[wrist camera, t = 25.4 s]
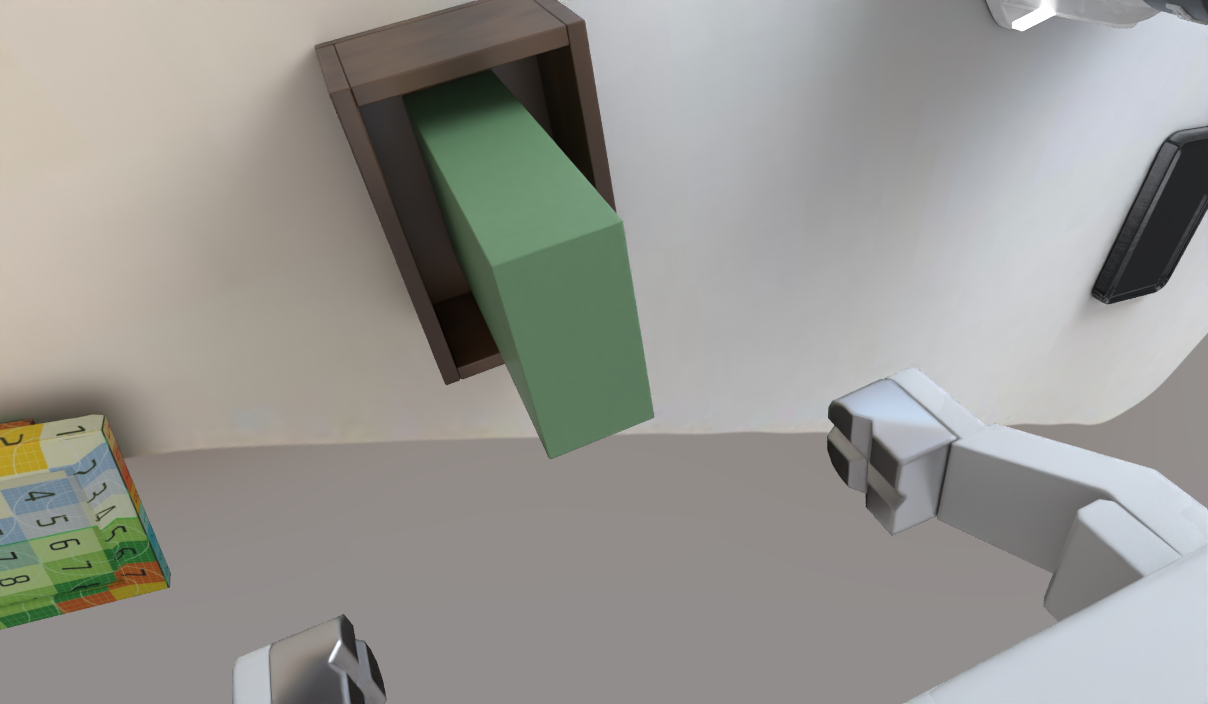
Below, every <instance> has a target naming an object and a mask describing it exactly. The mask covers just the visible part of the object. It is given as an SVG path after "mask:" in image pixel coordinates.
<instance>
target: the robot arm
mask: <svg viewBox="0 0 1208 704" xmlns="http://www.w3.org/2000/svg"><path fill="white" fill-rule="evenodd" d="M986 1H987V4H988V6H989V9H990V11H991V13H992V15H993V17H994V19H995V21H996V22H997V23H998V24H999V25H1000V26H1001V27H1005V28H1011V29H1018V30H1021V31H1024V30H1026V29H1028V28H1030V27H1031V26H1033V25H1035V24H1037V23H1039V22H1041V21H1043V20H1045V19H1047V18H1049V17H1051V16H1053V15H1054V16H1059V17H1064V18H1069V19H1073V20H1078V21H1083V22H1088V23H1093V24H1098V25H1103V26H1108V27H1113V28H1132V27H1134V26H1136V24H1137V23H1138V22H1140V21H1143V20H1146V19H1148V18H1151V17H1153V16H1155V15H1156V14H1158V13H1159V12H1161V11H1163V12H1167V13H1170V14H1174V15H1177V17H1179V18H1181V19H1184V20H1187V21H1191V22H1195V23H1200V24H1204V25H1207V24H1208V0H986ZM828 418H829V419H830V421H831V422H832V423H833V424H834V427H833V428H832V430H831V431H830V433H829V434H828V436H827V450H828V453H829V456H830V459H831V462H832V464H833V466H834V468H835V470H836V471H837V473H838V474H839V476H840V477H841V478H842V480H843V481H844V482H845V483H846V484H847V486H848V487H849V488H852V489H855V490H858V491H861V492H863V493H866V507H867V509H868V510H869V511H870V512H871V513H872V514H873V515H874V517H875V518H876V519H877V520H878V521H879V522H880V523H881V524H882V526H883V527H884V528H885V529H886V530H887V531H888V532H889V534H890V535H891V536H893V535H896V534H898V533H900V532H903V531H905V530H907V529H909V528H912V527H914V526H916V525H918V524H920V523H923V522H925V521H927V520H930V519H932V518H934V517H936V516H937V519H938V520H940V521H942V522H944V523H947V524H948V525H950V526H953V527H955V528H957V529H959V530H961V531H963V532H966V533H968V534H970V535H972V536H974V537H976V538H978V539H980V540H983V541H985V542H987V543H989V544H991V545H993V546H995V547H997V548H1000V549H1002V550H1004V551H1006V552H1008V553H1011V554H1012V555H1015V556H1017V557H1019V558H1021V559H1023V560H1025V561H1027V562H1029V563H1032V564H1034V565H1036V566H1038V567H1040V568H1042V569H1045V570H1047V571H1049V572H1051V573H1053V576H1052V578H1051V581H1050V583H1049V586H1048V589H1047V591H1046V594H1045V596H1044V607H1045V608H1046V610H1047V611H1048V612H1049V613H1050V614H1051V615H1052V616H1053V617H1054V618H1055V619H1056V620H1057V621H1058V623H1056V624H1054V625H1052V626H1050V627H1048V628H1046V629H1044V630H1042V631H1040V632H1039V633H1037V634H1035V635H1033V636H1031V637H1029V638H1027V639H1025V640H1023V641H1022V642H1020V643H1018V644H1016V645H1014V646H1012V647H1010V648H1008V649H1006V650H1005V651H1003V652H1001V653H999V654H997V655H995V656H993V657H991V658H989V659H987V660H985V661H983V662H982V663H980V664H978V665H976V666H974V667H972V668H970V669H968V670H966V671H964V672H963V673H961V674H959V675H957V676H955V677H953V678H951V679H950V680H948V681H945V682H944V683H942V684H940V685H938V686H936V687H934V688H932V689H930V690H928V691H927V692H925V693H923V694H921V695H919V696H917V697H915V698H913V699H911V700H910V701H907V702H906V703H904V704H1208V509H1206V508H1205V507H1204V506H1202V505H1201V504H1200V503H1199V502H1197V501H1196V500H1194V499H1193V498H1192V497H1190V496H1189V495H1188V494H1186V493H1185V492H1184V491H1182V490H1181V489H1180V488H1179V487H1177V486H1176V485H1175V484H1173V483H1172V482H1171V481H1169V480H1168V479H1167V478H1165V477H1164V476H1163V475H1161V474H1160V473H1159V472H1157V471H1156V470H1154V469H1151V468H1147V467H1144V466H1141V465H1137V464H1134V463H1130V462H1127V461H1123V460H1120V459H1116V458H1113V457H1109V456H1106V455H1102V454H1099V453H1095V452H1092V451H1089V450H1085V449H1082V448H1078V447H1075V446H1071V445H1068V444H1064V443H1061V442H1057V441H1054V440H1050V439H1047V438H1043V437H1040V436H1037V435H1033V434H1029V433H1026V432H1023V431H1019V430H1016V429H1012V428H1008V427H1005V426H1002V425H998V424H992V425H990V426H986V425H985V424H983V423H982V422H981V421H980V420H979V419H978V418H976V417H975V416H974V415H973V414H972V413H970V412H969V411H968V410H967V409H966V408H965V407H963V406H962V405H961V404H960V403H959V402H957V401H956V400H955V399H954V398H953V397H952V396H950V395H949V394H948V393H947V392H946V391H945V390H943V389H942V388H941V387H940V386H939V385H937V384H936V383H935V382H934V381H933V380H932V379H930V378H929V377H928V376H927V375H926V374H924V373H923V372H922V371H921V370H920V369H917V368H914V367H910V368H907V369H904V370H902V371H900V372H898V373H895V374H893V375H891V376H889V377H886V378H885V379H880V380H878V381H875V382H873V383H871V384H869V385H867V386H864V387H862V388H860V389H858V390H856V391H853V392H851V393H849V394H847V395H844V396H842V397H840V398H838V399H836V400H833V401H832V402H831V404H830V406H829V410H828ZM386 700H387V699H386V694H385V688H384V683H383V680H382V676H381V673H380V670H379V667H378V664H377V661H376V659H375V657H374V655H373V653H372V651H371V649H370V648H369V647H368V645H367V644H366V642H365V641H362V640H357V639H355V634H354V628H353V625H352V624H351V622H350V621H349V620H348V619H347V618H346V616H345V615H344V614H343V615H340V616H338V617H336V618H333V619H331V620H328V621H326V622H323V623H321V624H318V625H316V626H313V627H311V628H308V629H306V630H304V631H301V632H299V633H296V634H294V635H291V636H289V637H286V638H284V639H281V640H279V641H277V642H274V643H271V644H269V645H267V646H264V647H262V648H260V649H257V650H255V651H253V652H250V653H248V654H246V655H244V656H241V657H238V658H236V661H235V664H234V668H233V671H232V704H385V702H386Z"/></svg>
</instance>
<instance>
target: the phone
mask: <svg viewBox="0 0 1208 704" xmlns="http://www.w3.org/2000/svg"><path fill="white" fill-rule="evenodd" d="M1207 209H1208V126H1207V127H1201V128H1195V129H1189V130H1183V131H1179V132H1176V133H1174V134H1173V135H1172V136H1170V137H1169V138H1168V139H1167V141H1166V142H1165V143H1164V145H1163V147H1162V148H1161V150H1160V152H1159V155H1158V157H1157V159H1156V161H1155V163H1154V165H1153V167H1152V169H1151V171H1150V173H1149V175H1148V177H1147V179H1146V182H1145V184H1144V186H1143V188H1142V190H1141V192H1140V194H1139V196H1138V198H1137V200H1136V202H1135V204H1134V206H1133V209H1132V211H1131V213H1130V215H1129V217H1128V219H1127V221H1126V223H1125V225H1124V227H1123V229H1122V231H1121V233H1120V236H1119V238H1118V240H1117V242H1116V244H1115V246H1114V248H1113V250H1112V252H1111V254H1110V256H1109V258H1108V260H1107V263H1106V265H1105V267H1104V269H1103V271H1102V273H1101V275H1100V277H1099V279H1098V281H1097V283H1096V285H1095V287H1094V290H1093V297H1094V298H1096V299H1098V300H1099V301H1101V302H1102V303H1104V304H1112V303H1116V302H1120V301H1124V300H1128V299H1132V298H1135V297H1139V296H1143V295H1147V294H1151V293H1155V292H1157V291H1159V290H1160V289H1161V288H1163V287H1164V286H1165V285H1166V283H1167V282H1168V280H1169V279H1170V277H1171V275H1172V273H1173V272H1174V270H1175V268H1176V266H1177V264H1178V262H1179V261H1180V259H1181V257H1182V255H1183V253H1184V251H1185V250H1186V248H1187V246H1188V244H1189V242H1190V240H1191V239H1192V237H1193V235H1194V233H1195V231H1196V229H1197V228H1198V226H1199V224H1200V222H1201V220H1202V218H1203V217H1204V215H1205V213H1206V211H1207Z"/></svg>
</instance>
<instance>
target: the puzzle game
mask: <svg viewBox="0 0 1208 704" xmlns="http://www.w3.org/2000/svg"><path fill="white" fill-rule="evenodd" d="M170 576H171V573H170V571H169V568H168V565H167V563H166V560H165V558H164V556H163V553H162V551H161V549H160V546H159V544H158V541H157V539H156V536H155V534H154V532H153V529H152V527H151V524H150V522H149V520H148V517H147V515H146V512H145V510H144V508H143V505H142V503H141V500H140V498H139V495H138V493H137V491H136V488H135V486H134V484H133V481H132V479H131V476H130V474H129V471H128V469H127V466H126V464H125V462H124V459H123V457H122V454H121V452H120V450H119V447H118V445H117V442H116V440H115V438H114V435H113V433H112V430H111V428H110V426H109V423H108V421H107V418H106V416H105V415H93V414H89V415H84V416H79V417H74V418H69V419H64V420H59V421H54V422H47V423H41V424H35V423H34V420H33V419H26V420H19V421H13V422H7V423H1V424H0V630H1V629H5V628H9V627H13V626H17V625H21V624H25V623H29V622H33V621H37V620H41V619H45V618H49V617H53V616H57V615H61V614H65V613H69V612H73V611H77V610H82V609H85V608H90V607H94V606H98V605H102V604H106V603H110V602H114V601H118V600H122V599H126V598H130V597H134V596H138V595H142V594H146V593H150V592H154V591H158V590H162V589H166V588H169V587H170Z"/></svg>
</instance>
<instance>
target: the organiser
mask: <svg viewBox="0 0 1208 704" xmlns="http://www.w3.org/2000/svg"><path fill="white" fill-rule="evenodd" d="M315 50H316V53H317V56H318V60H319V63H320V66H321V69H322V73H323V76H324V79H325V82H326V85H327V89H328V92H329V95H330V98H331V100H332V103H333V105H334V108H335V110H336V113H337V115H338V118H339V120H340V123H341V125H342V128H343V130H344V133H345V135H346V138H347V140H348V143H349V145H350V148H351V150H352V153H353V155H354V158H355V160H356V163H357V165H358V168H359V170H360V173H361V175H362V178H363V180H364V183H365V185H366V188H367V190H368V193H369V195H370V198H371V200H372V203H373V205H374V208H375V210H376V213H377V215H378V218H379V220H380V223H381V225H382V228H383V230H384V233H385V235H386V238H387V240H388V243H389V245H390V248H391V250H392V253H393V255H394V258H395V260H396V263H397V265H398V268H399V270H400V273H401V275H402V278H403V280H404V283H405V285H406V288H407V290H408V293H409V295H410V298H411V300H412V303H413V305H414V308H415V310H416V313H417V315H418V318H419V320H420V323H421V325H422V328H423V330H424V333H425V335H426V338H427V340H428V343H429V345H430V348H431V350H432V353H433V355H434V358H435V360H436V363H437V365H438V368H439V370H440V373H441V375H442V378H443V380H444V383H445V384H446V385H449V384H451V383H454V382H457V381H459V380H460V378H461V379H465V378H468V377H470V376H473V375H476V374H478V373H481V372H484V371H486V370H489V369H492V368H494V367H497V366H500V365H502V364H505V362H504V360H503V358H502V356H501V354H500V352H499V349H498V347H497V345H496V343H495V341H494V339H493V336H492V334H491V332H490V330H489V328H488V326H487V324H486V321H485V319H484V317H483V315H482V313H481V311H480V308H479V306H478V304H477V302H476V300H475V298H474V296H473V293H472V291H471V289H470V287H469V285H468V283H467V280H466V278H465V276H464V274H463V272H462V270H461V268H460V265H459V263H458V261H457V259H456V256H455V253H454V250H453V247H452V244H451V241H450V238H449V235H448V233H447V230H446V227H445V224H444V221H443V218H442V215H441V212H440V209H439V206H438V203H437V200H436V197H435V194H434V191H433V188H432V185H431V182H430V179H429V177H428V174H427V171H426V168H425V165H424V162H423V159H422V156H421V153H420V150H419V147H418V144H417V141H416V138H415V135H414V132H413V129H412V126H411V123H410V120H409V118H408V115H407V112H406V109H405V106H404V103H403V100H402V97H404V96H407V95H411V94H414V93H417V92H421V91H424V90H427V89H431V88H434V87H437V86H441V85H444V84H447V83H451V82H454V81H457V80H461V79H464V78H467V77H471V76H474V75H477V74H481V73H484V72H488V71H491V70H492V71H493V72H494V73H495V74H496V75H497V76H498V78H499V79H500V80H501V81H502V82H503V83H504V85H505V86H506V87H507V88H508V89H509V90H510V91H511V93H512V94H513V95H514V96H515V97H516V98H517V99H518V101H519V102H520V103H521V104H522V105H523V106H524V108H525V109H526V110H527V111H528V112H529V113H530V114H531V116H532V117H533V118H534V119H535V120H536V121H537V123H538V124H539V125H540V126H541V127H542V128H543V129H544V131H545V132H546V133H547V134H548V135H549V136H550V138H551V139H552V140H553V141H554V142H555V143H556V144H557V146H558V147H559V148H560V149H561V150H562V151H563V153H564V154H565V155H566V156H567V157H568V158H569V159H570V161H571V162H572V163H573V164H574V165H575V166H576V168H577V169H578V170H579V171H580V172H581V173H582V174H583V176H584V177H585V178H586V179H587V180H588V181H589V183H590V184H591V185H592V186H593V187H594V188H595V189H596V191H597V192H598V193H599V194H600V195H601V196H602V198H603V199H604V200H605V201H606V202H607V203H608V204H609V206H610V207H611V208H612V209H613V210H614V211H615V213H616V208H615V201H614V195H613V189H612V183H611V177H610V171H609V165H608V159H607V153H606V147H605V141H604V135H603V128H602V122H601V116H600V110H599V104H598V98H597V92H596V86H595V80H594V74H593V68H592V61H591V55H590V49H589V43H588V37H587V31H586V25H585V20H584V19H582V18H581V17H580V16H578V15H577V14H575V13H574V12H573V11H571V10H570V9H568V8H567V7H566V6H564V5H563V4H561V3H560V2H559V1H557V0H477V1H473V2H470V3H466V4H462V5H459V6H455V7H452V8H448V9H444V10H441V11H437V12H434V13H430V14H426V15H423V16H419V17H415V18H412V19H408V20H405V21H401V22H397V23H394V24H390V25H387V26H383V27H379V28H376V29H372V30H369V31H365V32H361V33H358V34H354V35H351V36H347V37H343V38H340V39H336V40H333V41H329V42H325V43H322V44H318V45H315Z"/></svg>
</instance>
